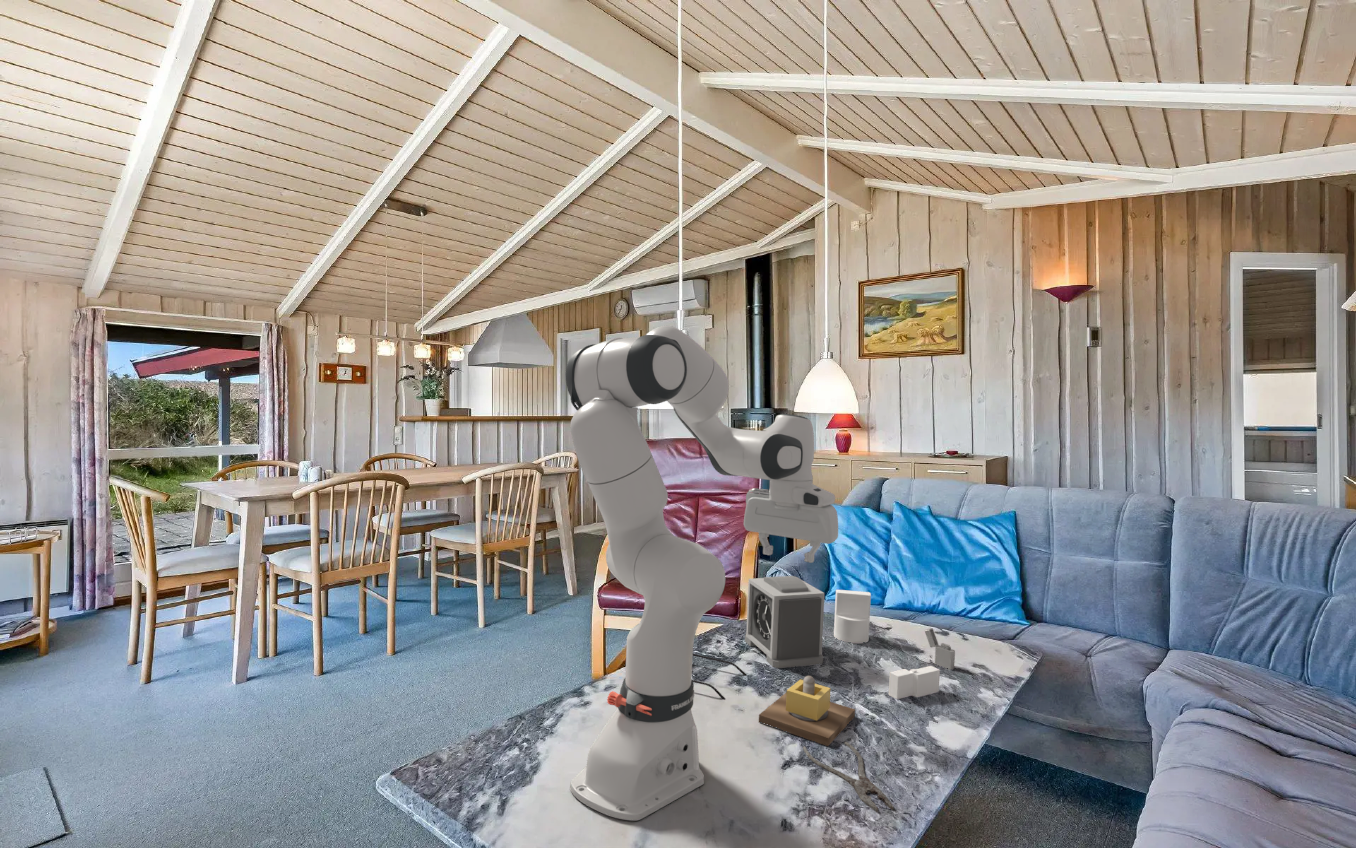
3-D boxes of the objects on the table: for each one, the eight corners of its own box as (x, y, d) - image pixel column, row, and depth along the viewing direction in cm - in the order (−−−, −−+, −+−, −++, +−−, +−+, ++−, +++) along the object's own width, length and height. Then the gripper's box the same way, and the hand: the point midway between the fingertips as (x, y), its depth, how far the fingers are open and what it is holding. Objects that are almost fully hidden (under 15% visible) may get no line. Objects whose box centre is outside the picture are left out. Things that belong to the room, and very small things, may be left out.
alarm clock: (743, 640, 169) (746, 569, 169) (789, 636, 173) (792, 567, 173) (774, 669, 152) (778, 590, 151) (825, 664, 156) (828, 587, 155)
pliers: (840, 736, 121) (925, 796, 103) (840, 740, 121) (924, 801, 103) (797, 747, 117) (878, 811, 99) (797, 751, 117) (878, 817, 99)
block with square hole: (816, 720, 123) (817, 700, 123) (785, 710, 127) (786, 690, 127) (829, 708, 129) (830, 688, 129) (799, 698, 132) (800, 679, 132)
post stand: (828, 746, 118) (830, 699, 118) (758, 722, 126) (760, 678, 126) (854, 716, 130) (856, 674, 129) (789, 696, 138) (791, 656, 137)
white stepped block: (941, 687, 146) (942, 662, 146) (953, 711, 135) (955, 683, 135) (871, 680, 149) (872, 655, 148) (877, 702, 138) (879, 675, 137)
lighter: (954, 668, 156) (956, 635, 156) (951, 670, 155) (952, 636, 154) (926, 658, 161) (927, 626, 161) (922, 660, 160) (924, 628, 160)
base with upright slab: (834, 641, 171) (837, 596, 170) (832, 629, 179) (834, 586, 179) (870, 645, 169) (873, 599, 169) (866, 632, 178) (868, 589, 177)
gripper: (739, 488, 140) (737, 552, 141) (831, 499, 129) (828, 569, 129) (753, 485, 145) (751, 547, 146) (842, 496, 134) (839, 563, 134)
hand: (788, 558), depth 137 cm, fingers open, 8 cm apart
